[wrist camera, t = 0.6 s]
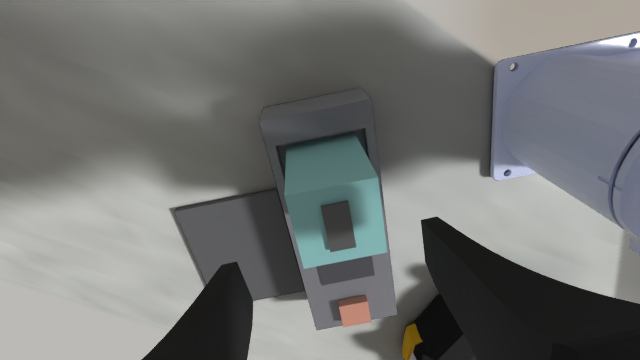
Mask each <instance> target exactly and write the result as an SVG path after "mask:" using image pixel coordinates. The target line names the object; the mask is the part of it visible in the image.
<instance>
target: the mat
mask: <svg viewBox="0 0 640 360" xmlns="http://www.w3.org/2000/svg"><path fill="white" fill-rule="evenodd" d="M175 214H176V217H177V219H178V221H179V223H180V226H181V228H182V230H183V232H184V235H185V237H186V239H187V241H188V244H189V246H190V248H191V250H192V253H193V255H194V257H195V259H196V262H197V264H198V266H199V268H200V271H201V273H202V275H203V277H204V280H205V282H206V284H208V282H209V281H210V279H211V278H212V277H213V275H214V274H215V273H216V271H217V270H218V269H219V267H220V266H221V265H223V264H227V263H232V262H236V261H237V263H238V265H239V268H240V270H241V273H242V275H243V277H244V280H245V282H246V285H247V287H248V289H249V292H250V294H251V296H252V299H253V301H255V300H260V299H265V298H271V297H276V296H281V295H286V294H291V293H296V292H301V291H305V289H304V284H303V280H302V277H301V273H300V269H299V266H298V262H297V259H296V255H295V251H294V248H293V244H292V240H291V237H290V233H289V230H288V226H287V222H286V219H285V215H284V212H283V208H282V204H281V201H280V197H279V193H278V190H277V189H272V190H267V191H262V192H257V193H252V194H247V195H242V196H237V197H232V198H227V199H222V200H217V201H212V202H207V203H202V204H197V205H192V206H187V207H182V208H177V209H176V210H175Z"/></svg>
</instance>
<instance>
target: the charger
mask: <svg viewBox="0 0 640 360" xmlns="http://www.w3.org/2000/svg"><path fill="white" fill-rule="evenodd" d="M284 197H285V200H286V204H287V208H288V212H289V215H290V219H291V223H292V226H293V230H294V234H295V238H296V241H297V245H298V249H299V253H300V256H301V260H302V264H303V267H304V269H306V268H311V267H316V266H321V265H326V264H331V263H336V262H341V261H346V260H352V259H357V258H362V257H367V256H372V255H377V254H382V253H387V245H386V237H385V229H384V220H383V212H382V204H381V196H380V188H379V180H378V176H377V174H376V172H375V170H374V168H373V166H372V165H371V163H370V161H369V159H368V157H367V155H366V153H365V151H364V149H363V147H362V146H361V144H360V142H359V140H358V138H357V136H356V134H355V133H350V134H345V135H340V136H335V137H330V138H326V139H321V140H316V141H311V142H306V143H301V144H296V145H291V146H287V148H286V170H285V192H284Z"/></svg>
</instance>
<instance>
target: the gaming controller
mask: <svg viewBox="0 0 640 360" xmlns="http://www.w3.org/2000/svg"><path fill="white" fill-rule="evenodd" d="M402 355H403V357H404V360H477V359H476V357H475V355H474V353H473V350H472V348H471V346H470V345H469V343H468V341H467V339H466V337H465V335H464V334H463V332H462V330H461V328H460V327H459V325H458V323H457V322H456V320H455V318H454V317H453V315H452V313H451V311H450V310H449V308H448V306H447V305H446V303H445V301H444V299H443V298H442V296H441V294H440V295H439V296H438V297H437V298H436V299H435V300H434V301H433V302H432V303H431V304H430V306H429V307H428V308H427V309H426V310H425V311H424V312H423V313H422V314H421V316H420V317H419V318H418V319H417V320H416V321H415V323H414V324H412V325H409V326H407V328H406V330H405V334H404V340H403V347H402Z"/></svg>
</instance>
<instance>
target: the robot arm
mask: <svg viewBox="0 0 640 360" xmlns="http://www.w3.org/2000/svg"><path fill="white" fill-rule="evenodd" d="M630 40H631V44H630V45H629V46H628V44H629V41H630ZM512 63H515V67H514V69H513V70H511V71H510V66H511V64H512ZM506 170H508V172H507V173H505V174H504V172H505V171H506ZM535 173H538V174H539V175H541V176H542V177H544V178H546V179H547V180H549V181H550V182H552V183H553V184H555V185H556V186H558V187H559V188H561V189H563V190H564V191H566V192H567V193H569V194H570V195H572V196H573V197H575V198H576V199H578V200H580V201H581V202H583V203H584V204H586V205H587V206H589V207H590V208H592V209H593V210H595V211H597V212H598V213H600V214H601V215H603V216H604V217H606V218H607V219H609V220H610V221H612V222H614V223H615V224H617V225H618V226H620V227H621V228H623V229H625V230H626V232H627V233H628V234H629V237H630V245H629V249H631V250H632V251H634V252H635V253H636V254H638V255H639V256H640V31H639V32H634V33H629V34H625V35H620V36H614V37H609V38H605V39H600V40H595V41H590V42H586V43H580V44H576V45H571V46H566V47H561V48H557V49H551V50H546V51H542V52H537V53H532V54H527V55H522V56H517V57H513V58H507V59H503V60H500V61H499V62H498V63H497V64H496V66H495V69H494V92H493V117H492V143H491V169H490V175H491V177H492V178H493V179H494V180H496V181H500V180H505V179H510V178H515V177H520V176H525V175H530V174H535ZM421 225H422V234H423V244H424V253H425V262H426V265H427V267H428V269H429V272H430V274H431V276H432V279H433V281H434V283H435V285H436V287H437V289H438V291H439V293H440V294H441V296H442V298H443V299H444V301H445V303H446V305H447V306H448V308H449V310H450V311H451V313H452V315H453V317H454V318H455V320H456V322H457V323H458V325H459V327H460V328H461V330H462V332H463V334H464V335H465V337H466V339H467V341H468V343H469V345H470V346H471V348H472V350H473V353H474V355H475V357H476V359H477V360H640V304H637V303H633V302H629V301H625V300H620V299H616V298H612V297H608V296H604V295H601V294H598V293H594V292H591V291H587V290H584V289H581V288H578V287H575V286H572V285H568V284H566V283H563V282H560V281H557V280H555V279H552V278H549V277H546V276H544V275H541V274H539V273H536V272H534V271H532V270H529V269H527V268H525V267H523V266H520V265H518V264H516V263H514V262H512V261H510V260H508V259H506V258H504V257H502V256H500V255H498V254H496V253H494V252H492V251H491V250H489V249H487V248H485V247H483V246H482V245H480V244H478V243H477V242H475V241H474V240H472V239H470V238H469V237H467V236H466V235H464V234H462V233H461V232H459V231H458V230H456V229H455V228H453V227H452V226H450V225H449V224H447V223H446V222H444V221H443V220H441V219H440V218H438V217H433V218H429V219H424V220H421ZM252 319H253V299H252V296H251V294H250V292H249V289H248V287H247V285H246V282H245V280H244V277H243V275H242V273H241V270H240V268H239V265H238V263H237V261H236V262H232V263H227V264H223V265H221V266H220V267H219V269H218V270H217V271H216V273H215V274H214V275H213V277H212V278H211V279H210V281H209V282H208V284H207V285H206V286H205V288H204V289H203V290H202V292H201V293H200V294H199V296H198V297H197V298H196V300H195V301H194V302H193V304H192V305H191V306H190V307H189V309H188V310H187V311H186V312H185V313H184V315H183V316H182V317H181V318H180V319H179V321H178V322H177V323H176V324H175V325H174V327H173V328H172V329H171V330H170V331H169V332H168V333H167V335H166V336H165V337H164V338H163V339H162V340H161V341H160V342H159V343H158V344H157V345H156V346H155V347H154V348H153V349H152V350H151V351H150V352H149V353H148V354H147V355H146V356H145V357H144V358H143V359H142V360H247V356H248V349H249V343H250V337H251V330H252Z"/></svg>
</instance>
